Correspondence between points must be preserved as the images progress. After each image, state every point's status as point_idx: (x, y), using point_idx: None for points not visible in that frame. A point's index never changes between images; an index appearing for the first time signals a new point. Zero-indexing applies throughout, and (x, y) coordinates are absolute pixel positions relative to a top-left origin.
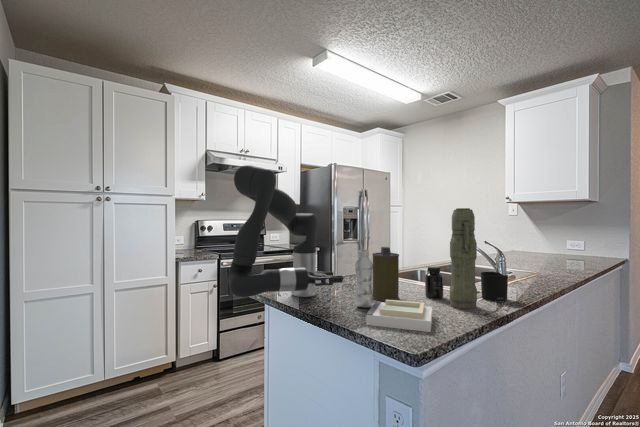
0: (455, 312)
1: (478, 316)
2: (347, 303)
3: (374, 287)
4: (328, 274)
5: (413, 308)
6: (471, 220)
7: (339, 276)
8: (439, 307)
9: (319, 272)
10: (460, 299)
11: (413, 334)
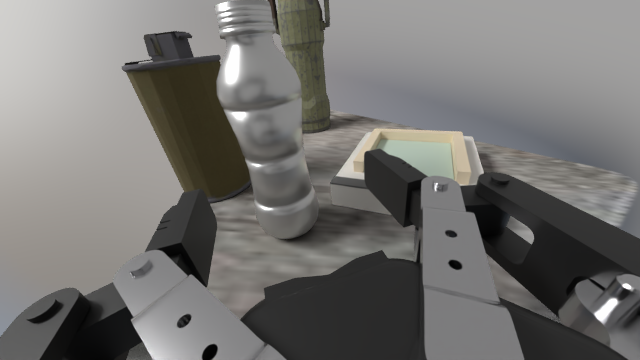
0: (342, 132)
1: (360, 123)
2: (229, 267)
3: (207, 172)
4: (201, 224)
5: (391, 144)
6: None
7: (389, 158)
8: (313, 139)
9: (192, 280)
10: (326, 114)
11: (500, 170)
